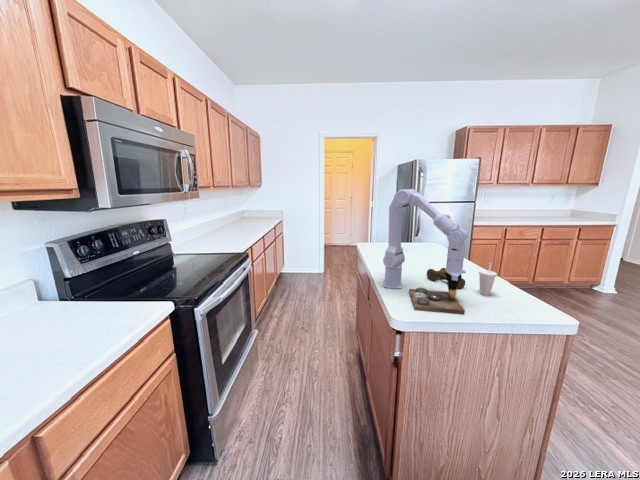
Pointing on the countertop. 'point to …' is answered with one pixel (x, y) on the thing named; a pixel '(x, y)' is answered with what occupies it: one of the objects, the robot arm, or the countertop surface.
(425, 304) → the base
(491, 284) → the smoothie
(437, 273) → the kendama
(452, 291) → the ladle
